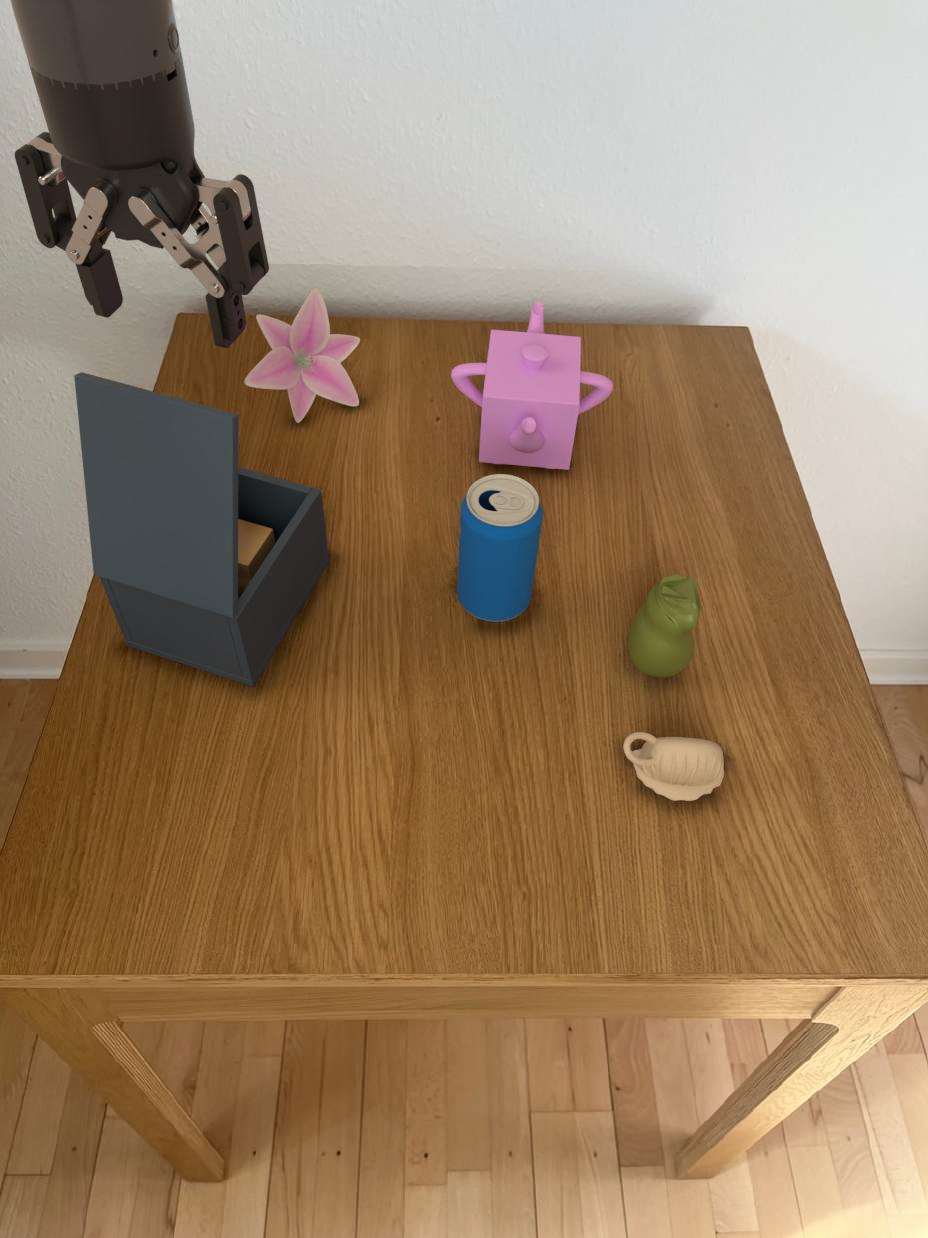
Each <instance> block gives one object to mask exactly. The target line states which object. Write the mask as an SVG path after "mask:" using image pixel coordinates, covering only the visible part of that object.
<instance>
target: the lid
mask: <svg viewBox="0 0 928 1238" xmlns="http://www.w3.org/2000/svg"><path fill="white" fill-rule="evenodd" d="M73 378H74V389H75V398H76V409H77V419H78V429H79V439H80V450H81V460H82V467H83V468H82V470H83V479H84V489H85V491H84V492H85V502H86V510H87V522H88V531H89V542H90V550H91V561H92V571H93V575H95V576H98V577H99V576H102V577H105V578H108V579H111V580H114V581H118V582H121V583H124V584H127V585H130V586H134V587H137V588H140V589H143V590H146V591H150V592H153V593H156V594H159V595H162V596H166V597H169V598H172V599H175V600H178V601H181V602H185V603H188V604H191V605H194V606H197V607H201V608H204V609H207V610H210V611H213V612H217V613H220V614H223V615H226V616H229V617H234V616H235V615H236V614H237V613H238V467H239V429H240V428H239V423H240V422H239V419H240V417H239V414H238V413H235V412H231V411H227V410H224V409H221V408H217V407H213V406H209V405H205V404H201V403H198V402H194V401H191V400H187V399H183V398H179V397H177V396H176V397H175V396H172V395H168V394H164V393H161V392H157V391H155V390H154V391H153V390H150V389H146V388H142V387H139V386H134V385H132V384H131V385H130V384H128V383H123V382H120V381H116V380H113V379H109V378H105V377H102V376H97V375H94V374H90V373H87V372H83V371H81V372H79V373H75V375H74V376H73Z"/></svg>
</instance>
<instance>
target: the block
mask: <svg viewBox="0 0 928 1238" xmlns="http://www.w3.org/2000/svg"><path fill="white" fill-rule="evenodd" d="M274 545H275V538H274V532H273V529H272V528H268V527H265V526H261V525H258V524H254V523H251V522H247V521H244V520H240V519H238V595H239V596H241V595H242V593H243V592H244V590H245V589H246V587H247V586H248V584H249V583H250V581H251V580H252V578H253V577H254V575H255V574H256V572H257V571H258V569H259V568H260V566H261V565H262V563H263V562H264V560H265V559H266V557H267V556H268V554H269V553H270V551H271V549H272V548H273V546H274Z"/></svg>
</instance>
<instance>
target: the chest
mask: <svg viewBox="0 0 928 1238" xmlns="http://www.w3.org/2000/svg"><path fill="white" fill-rule="evenodd" d="M238 519H240V520H244V521H247V522H251V523H254V524H258V525H261V526H265V527H268V528H272V529H273V532H274V538H275V545H274V546H273V548H272V549H271V551H270V553H269V554H268V556H267V557H266V559H265V560H264V562H263V563H262V565H261V566H260V568H259V569H258V571H257V572H256V574H255V575H254V577H253V578H252V580H251V581H250V583H249V584H248V586H247V587H246V589H245V590H244V592H243V593H242V595H241V596H239V595H238V613H237V614H236V615H235V616H234V617H229V616H226V615H223V614H220V613H217V612H213V611H210V610H207V609H204V608H201V607H197V606H194V605H191V604H188V603H185V602H181V601H178V600H175V599H172V598H169V597H166V596H162V595H159V594H156V593H153V592H150V591H146V590H143V589H140V588H137V587H134V586H130V585H127V584H124V583H121V582H118V581H114V580H111V579H108V578H105V577H102V576H98V578H99V580H100V582H101V585H102V587H103V590H104V592H105V595H106V597H107V599H108V602H109V605H110V607H111V609H112V612H113V614H114V616H115V619H116V622H117V624H118V626H119V629H120V632H121V633H122V634H121V635H122V636H123V639H124V641H125V644H126V646H127V647H130V648H132V649H136V650H139V651H142V652H145V653H148V654H151V655H154V656H157V657H160V658H163V659H167V660H169V661H172V662H175V663H179V664H182V665H185V666H188V667H190V668H194V669H198V670H201V671H203V672H206V673H208V674H209V673H210V674H212V675H215V676H219V677H221V678H225V679H228V680H230V681H233V682H237V683H241V684H244V685H246V686H249V687H252V688H254V686H255V685H256V684H257V682H258V681H259V678H260V677H261V675H263V674H262V673H263V672H264V670H265V669H266V667H267V666H268V664H269V663H270V660H271V659H272V657H273V655H274V654H275V652H276V651H277V649H278V647H279V646H280V644H281V642H282V641H283V639H284V637H285V635H286V634H287V632H288V631H289V629H290V627H291V625H292V624H293V623H294V621H295V619H296V617H297V616H298V615H299V613H300V611H301V609H302V607H303V606H304V604H305V602H306V601H307V599H308V597H309V596H310V594H311V593H312V591H313V589H314V587H316V585H317V583H318V581H319V579H320V578H321V576H322V574H323V573H324V571H325V570H326V568H327V566H328V565H329V563H330V556H329V555H330V554H329V545H328V537H327V529H326V520H325V511H324V503H323V493H322V490H321V489H320V488H316V487H312V486H309V485H306V484H305V485H304V484H302V483H298V482H295V481H291V480H287V479H283V478H280V477H277V476H273V475H270V474H266V473H262V472H259V471H256V470H251V469H248V468H246V467H245V468H244V467H240V466H238Z"/></svg>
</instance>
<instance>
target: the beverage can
mask: <svg viewBox="0 0 928 1238" xmlns="http://www.w3.org/2000/svg"><path fill="white" fill-rule="evenodd" d="M459 511H460V514H459V515H460V516H459V517H460V518H459V534H458V535H459V536H458V557H457V558H458V559H457V560H458V561H457V582H456V583H457V585H456V594H457V599H458V601H459V604H460V605H461V607H462V608H463V609H464V610H465V611H466V612H467V613H468V614H470V615H471V616H472V617H475V618H477V619H479V620H483V621H488V622H505V621H509V620H513V619H514V618H517V617H518V616H521V614H523V613H524V612H525V611H526V609H527V608H528V607H529V606H530V604H531V600H532V595H533V589H534V583H535V582H534V581H535V574H536V568H537V567H536V566H537V559H538V552H539V546H540V539H541V532H542V531H541V530H542V524H543V515H544V511H543V506H542V503H541V502H540V498H539V494H538V492H537V490H536V489H535V487H534V486H533V485H532V484H531V483H530V482H528V481H526V480H525V479H523V478H521V477H518V476H515V475H512V474H504V473H496V474H490V475H486V476H483V477H481V478H479V479H477V480H476V481H474V482H473V483H472V484H471V485H470V487H469V488H468V490H467V493H466V494H465V496H464V497H463V499H462V502H461V505H460V510H459Z"/></svg>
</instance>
